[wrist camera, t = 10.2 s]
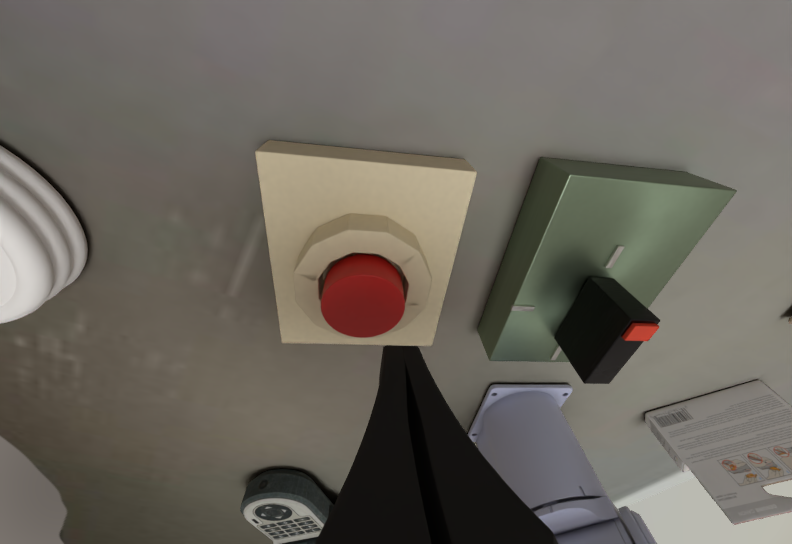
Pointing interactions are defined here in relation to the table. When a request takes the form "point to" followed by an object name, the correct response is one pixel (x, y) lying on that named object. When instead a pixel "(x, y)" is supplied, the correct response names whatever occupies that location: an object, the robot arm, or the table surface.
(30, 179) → the coaster
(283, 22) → the table surface
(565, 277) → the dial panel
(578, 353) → the black rectangular block
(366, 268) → the power button
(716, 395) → the ink cartridge box
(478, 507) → the robot arm
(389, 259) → the box
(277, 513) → the communication device
